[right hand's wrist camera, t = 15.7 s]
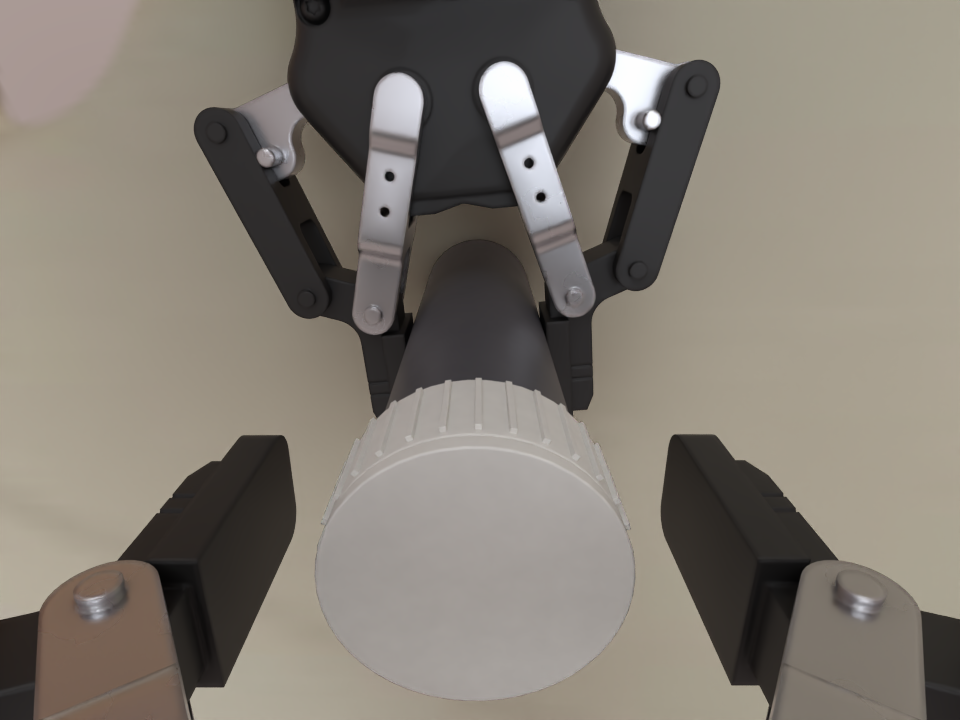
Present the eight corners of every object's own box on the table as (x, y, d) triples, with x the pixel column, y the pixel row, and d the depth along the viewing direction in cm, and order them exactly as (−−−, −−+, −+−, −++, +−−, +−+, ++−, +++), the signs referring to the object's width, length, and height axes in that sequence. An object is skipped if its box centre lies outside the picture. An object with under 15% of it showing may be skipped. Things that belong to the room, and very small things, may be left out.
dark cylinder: (475, 355, 26) (468, 691, 11) (407, 286, 25) (289, 550, 9) (548, 292, 25) (658, 564, 10) (481, 217, 24) (484, 389, 8)
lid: (662, 508, 11) (706, 600, 9) (464, 638, 12) (460, 748, 10) (491, 317, 10) (494, 371, 8) (286, 485, 11) (239, 573, 9)
